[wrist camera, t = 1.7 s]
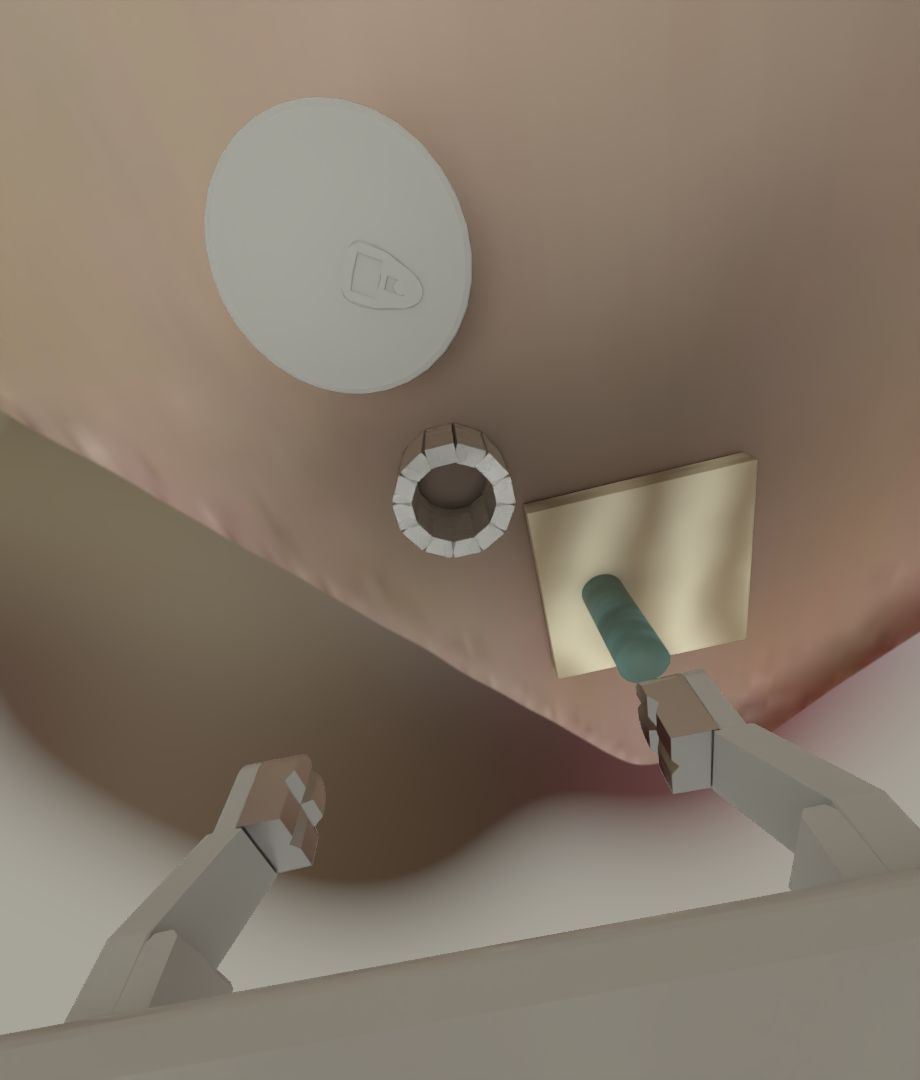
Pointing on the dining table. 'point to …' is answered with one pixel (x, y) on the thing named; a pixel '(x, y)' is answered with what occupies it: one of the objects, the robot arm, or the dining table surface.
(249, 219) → the canned food
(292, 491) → the dining table surface
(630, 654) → the green peg on board
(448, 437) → the grey segmented ring
